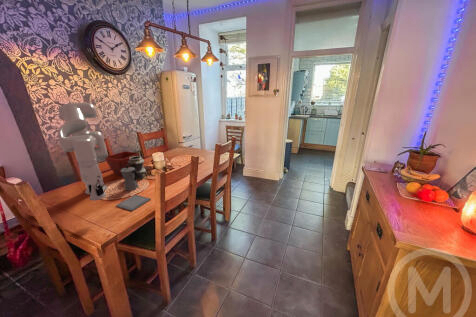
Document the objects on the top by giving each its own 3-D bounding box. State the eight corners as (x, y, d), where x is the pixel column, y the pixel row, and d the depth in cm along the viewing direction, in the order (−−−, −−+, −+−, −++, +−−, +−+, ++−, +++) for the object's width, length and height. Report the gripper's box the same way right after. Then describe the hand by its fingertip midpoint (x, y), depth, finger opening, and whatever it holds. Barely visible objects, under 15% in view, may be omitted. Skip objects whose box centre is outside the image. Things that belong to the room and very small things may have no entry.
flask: (95, 194, 102) (90, 178, 98) (109, 193, 102) (104, 177, 99) (86, 201, 95) (81, 184, 91) (101, 200, 95) (96, 184, 92)
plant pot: (108, 175, 157) (103, 156, 152) (128, 167, 174) (125, 151, 168) (123, 178, 150) (119, 159, 145) (142, 170, 167) (139, 153, 161)
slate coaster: (116, 206, 112) (115, 205, 112) (135, 195, 125) (135, 194, 124) (132, 211, 107) (132, 210, 107) (150, 199, 120) (150, 198, 119)
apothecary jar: (145, 179, 149) (141, 159, 143) (128, 181, 146) (124, 160, 140) (148, 173, 160) (144, 154, 154) (133, 175, 157) (129, 155, 151)
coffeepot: (120, 188, 134) (114, 166, 128) (131, 183, 142) (127, 162, 136) (133, 193, 127) (128, 170, 122) (145, 187, 135) (141, 165, 130)
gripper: (69, 162, 91) (79, 193, 97) (91, 167, 85) (100, 200, 92) (85, 157, 98) (94, 187, 104) (107, 162, 92) (114, 193, 98)
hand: (97, 193), depth 98 cm, fingers closed on flask, 5 cm apart
